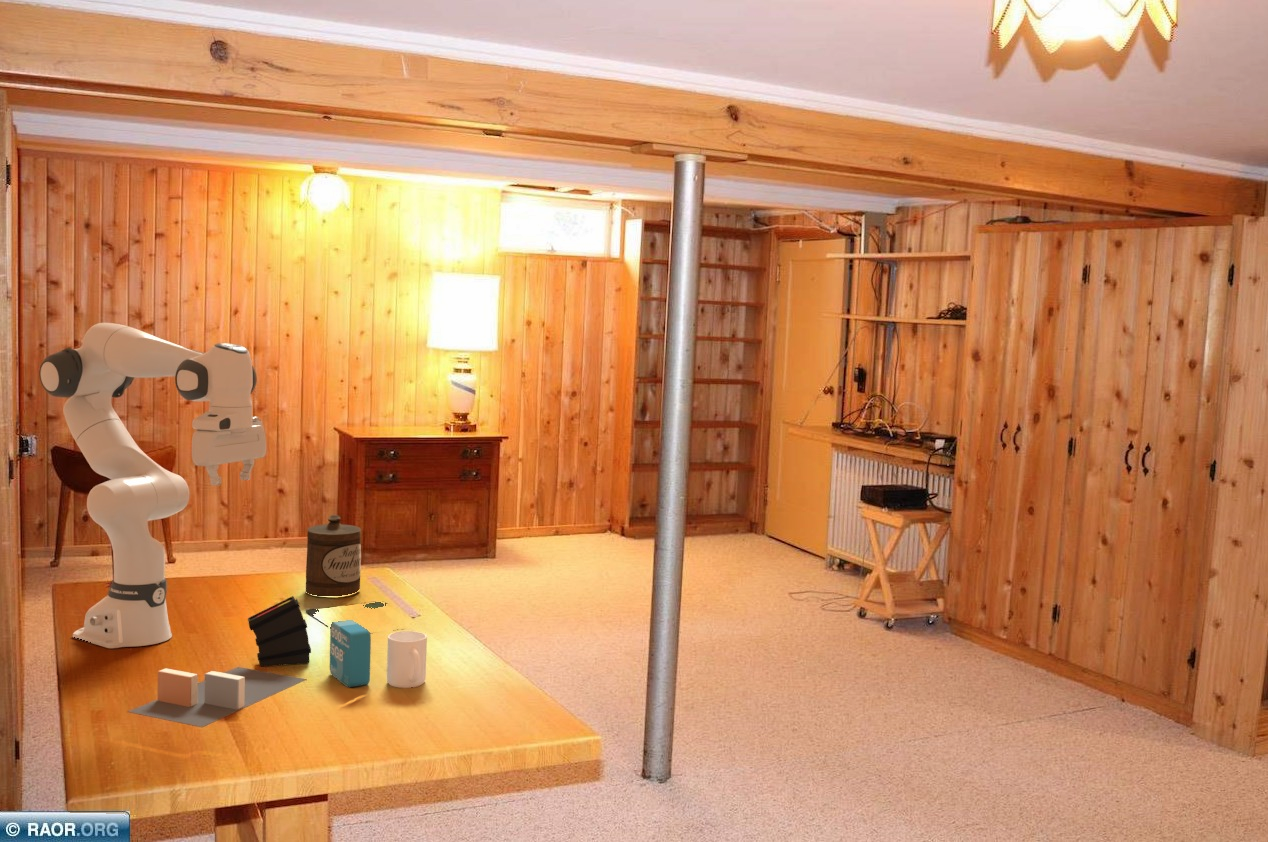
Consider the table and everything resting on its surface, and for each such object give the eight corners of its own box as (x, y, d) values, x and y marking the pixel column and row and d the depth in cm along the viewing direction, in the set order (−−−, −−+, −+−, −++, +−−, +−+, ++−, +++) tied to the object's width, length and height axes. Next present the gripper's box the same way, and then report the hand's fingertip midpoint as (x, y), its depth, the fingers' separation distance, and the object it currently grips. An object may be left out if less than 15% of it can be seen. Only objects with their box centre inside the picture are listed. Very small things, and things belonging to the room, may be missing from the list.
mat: (127, 714, 222) (127, 711, 222) (238, 669, 252) (238, 666, 252) (201, 730, 216) (201, 727, 216) (306, 681, 246) (306, 679, 246)
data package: (329, 673, 252) (330, 620, 251) (348, 670, 255) (349, 618, 254) (350, 689, 242) (351, 634, 241) (370, 686, 245) (371, 631, 244)
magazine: (324, 656, 259) (296, 598, 255) (269, 684, 255) (239, 626, 252) (322, 651, 262) (294, 594, 259) (268, 679, 259) (238, 622, 255)
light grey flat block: (204, 703, 229) (204, 673, 228) (212, 699, 231) (212, 670, 230) (237, 709, 226) (237, 680, 225) (244, 706, 228) (244, 676, 227)
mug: (435, 691, 243) (437, 644, 243) (397, 696, 240) (398, 648, 239) (419, 674, 254) (420, 629, 253) (382, 678, 250) (383, 632, 249)
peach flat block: (157, 700, 229) (157, 671, 228) (165, 697, 231) (165, 668, 230) (189, 706, 226) (189, 677, 226) (197, 703, 228) (197, 674, 228)
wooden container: (332, 601, 313) (334, 522, 311) (294, 592, 320) (295, 515, 318) (371, 591, 326) (372, 515, 324) (333, 583, 333) (334, 508, 331)
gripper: (250, 415, 258) (250, 475, 259) (186, 421, 239) (186, 487, 240) (273, 416, 256) (273, 478, 257) (210, 423, 237) (210, 489, 238)
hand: (230, 482), depth 249 cm, fingers open, 8 cm apart
